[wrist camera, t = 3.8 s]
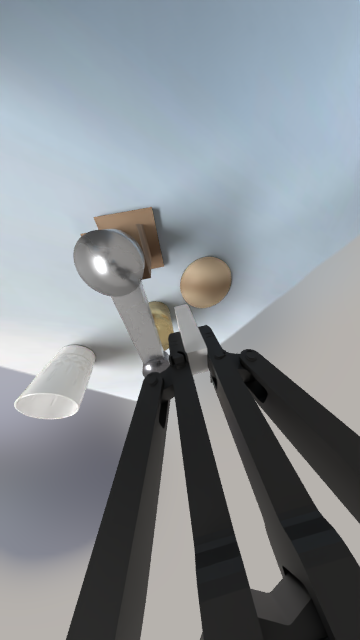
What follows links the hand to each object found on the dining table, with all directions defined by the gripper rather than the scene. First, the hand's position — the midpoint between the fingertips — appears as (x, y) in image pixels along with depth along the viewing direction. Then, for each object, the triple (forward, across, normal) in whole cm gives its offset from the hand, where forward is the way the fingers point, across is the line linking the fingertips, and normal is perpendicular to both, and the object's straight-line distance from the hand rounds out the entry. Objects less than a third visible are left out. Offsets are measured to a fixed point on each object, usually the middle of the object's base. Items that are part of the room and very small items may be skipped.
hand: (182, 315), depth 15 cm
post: (+10, -4, +7) cm, 13 cm away
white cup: (+10, -22, -11) cm, 27 cm away
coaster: (+10, +6, -1) cm, 11 cm away
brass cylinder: (+10, -4, -5) cm, 12 cm away
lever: (-1, -4, +1) cm, 4 cm away
